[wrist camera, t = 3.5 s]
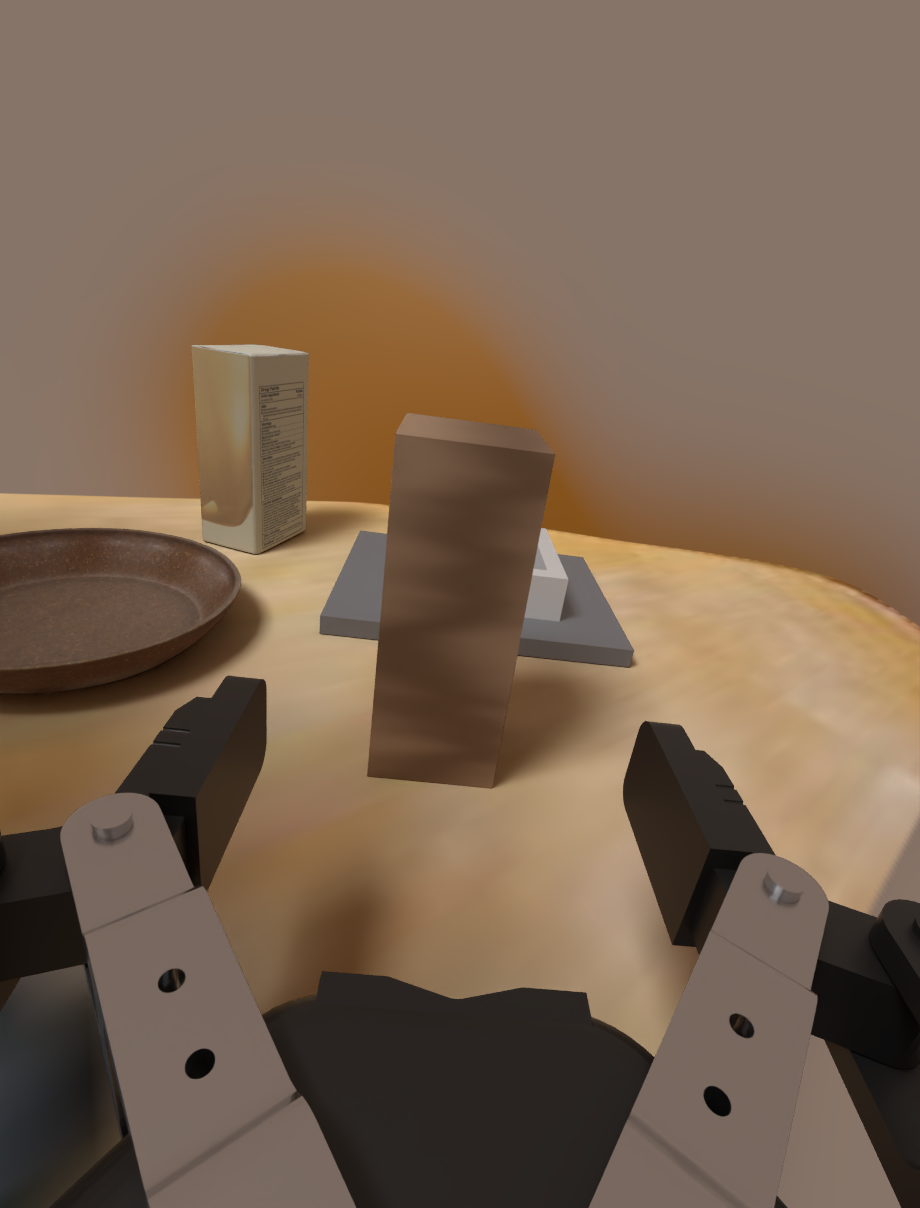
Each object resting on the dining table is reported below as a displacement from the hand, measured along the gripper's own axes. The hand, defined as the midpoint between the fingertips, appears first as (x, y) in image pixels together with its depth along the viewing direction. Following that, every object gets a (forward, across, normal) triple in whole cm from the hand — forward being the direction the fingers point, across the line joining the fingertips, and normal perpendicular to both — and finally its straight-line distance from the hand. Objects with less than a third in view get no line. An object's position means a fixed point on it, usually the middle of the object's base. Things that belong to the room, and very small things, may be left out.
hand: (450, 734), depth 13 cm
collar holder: (+24, -2, +7) cm, 25 cm away
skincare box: (+30, +13, +7) cm, 33 cm away
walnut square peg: (+9, 0, +7) cm, 11 cm away
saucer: (+15, +17, +8) cm, 24 cm away
